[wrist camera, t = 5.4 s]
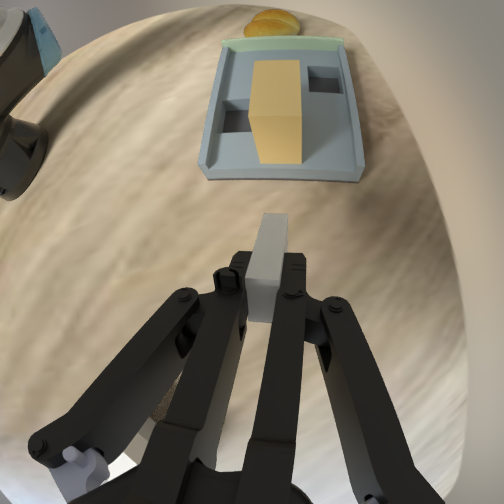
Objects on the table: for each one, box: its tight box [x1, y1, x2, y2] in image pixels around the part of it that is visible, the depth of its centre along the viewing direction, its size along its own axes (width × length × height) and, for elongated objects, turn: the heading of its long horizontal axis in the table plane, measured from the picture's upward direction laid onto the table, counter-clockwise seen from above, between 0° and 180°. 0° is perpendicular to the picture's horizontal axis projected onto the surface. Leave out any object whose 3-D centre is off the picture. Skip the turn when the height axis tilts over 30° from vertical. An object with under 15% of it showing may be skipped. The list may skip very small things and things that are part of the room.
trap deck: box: [198, 36, 365, 183], centre depth 29 cm, size 20×16×4 cm
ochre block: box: [248, 60, 302, 164], centre depth 24 cm, size 7×4×8 cm, turn 176°
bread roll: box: [244, 9, 300, 38], centre depth 33 cm, size 8×9×4 cm
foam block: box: [107, 417, 157, 481], centre depth 22 cm, size 10×10×8 cm
